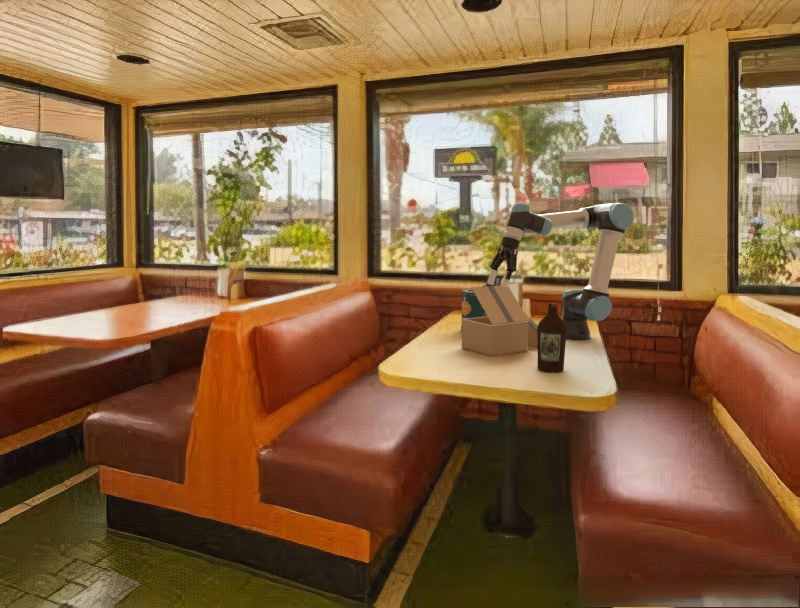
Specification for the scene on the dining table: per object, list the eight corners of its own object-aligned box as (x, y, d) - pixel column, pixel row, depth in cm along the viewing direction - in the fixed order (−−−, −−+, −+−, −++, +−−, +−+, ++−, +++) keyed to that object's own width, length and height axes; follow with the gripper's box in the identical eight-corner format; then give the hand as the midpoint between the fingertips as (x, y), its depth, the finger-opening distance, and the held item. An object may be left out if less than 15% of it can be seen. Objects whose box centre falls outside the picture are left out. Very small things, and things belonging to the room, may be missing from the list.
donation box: (499, 333, 279) (500, 278, 275) (469, 335, 274) (470, 278, 271) (485, 328, 294) (487, 275, 290) (457, 329, 290) (458, 276, 286)
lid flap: (471, 288, 235) (472, 287, 235) (506, 285, 245) (507, 284, 245) (492, 325, 225) (493, 324, 225) (528, 320, 235) (528, 320, 235)
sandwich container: (554, 348, 244) (555, 315, 242) (519, 346, 249) (520, 313, 247) (556, 344, 252) (557, 312, 250) (522, 342, 257) (523, 310, 255)
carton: (461, 348, 244) (462, 319, 242) (496, 343, 254) (497, 315, 253) (491, 357, 227) (492, 325, 225) (527, 351, 237) (528, 321, 236)
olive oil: (537, 365, 213) (539, 300, 210) (566, 367, 209) (569, 302, 206) (533, 371, 203) (536, 304, 200) (563, 374, 200) (566, 305, 196)
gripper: (491, 235, 250) (477, 280, 250) (518, 235, 226) (502, 285, 226) (505, 240, 252) (491, 285, 252) (533, 241, 228) (518, 290, 229)
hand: (496, 285), depth 239 cm, fingers open, 13 cm apart
